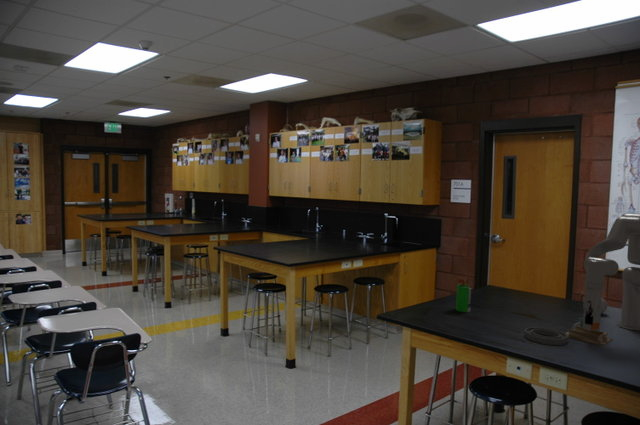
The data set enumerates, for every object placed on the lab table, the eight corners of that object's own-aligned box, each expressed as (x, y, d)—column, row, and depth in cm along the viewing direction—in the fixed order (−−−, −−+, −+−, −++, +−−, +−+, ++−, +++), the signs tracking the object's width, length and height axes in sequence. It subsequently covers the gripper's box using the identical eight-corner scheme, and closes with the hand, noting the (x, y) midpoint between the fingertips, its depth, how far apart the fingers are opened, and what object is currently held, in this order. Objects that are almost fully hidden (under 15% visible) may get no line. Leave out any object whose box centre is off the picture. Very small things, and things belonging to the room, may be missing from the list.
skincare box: (589, 331, 219) (591, 306, 218) (582, 328, 223) (584, 303, 222) (599, 330, 221) (601, 305, 220) (592, 327, 225) (594, 303, 224)
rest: (572, 330, 235) (573, 323, 235) (612, 339, 222) (612, 332, 222) (561, 335, 225) (562, 328, 225) (602, 345, 213) (603, 338, 212)
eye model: (601, 311, 274) (602, 294, 274) (610, 316, 264) (611, 299, 264) (583, 310, 275) (584, 294, 275) (591, 315, 265) (592, 298, 264)
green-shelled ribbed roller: (472, 312, 262) (474, 281, 261) (458, 312, 263) (459, 280, 262) (467, 308, 272) (469, 277, 271) (453, 307, 272) (455, 277, 271)
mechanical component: (530, 330, 234) (530, 324, 234) (571, 339, 222) (571, 333, 222) (519, 339, 220) (519, 332, 220) (562, 348, 208) (562, 342, 208)
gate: (579, 326, 240) (579, 317, 239) (583, 327, 238) (584, 318, 238) (570, 330, 232) (571, 321, 232) (575, 331, 230) (575, 322, 230)
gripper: (591, 282, 229) (589, 318, 230) (579, 286, 217) (576, 324, 219) (609, 285, 224) (606, 321, 225) (597, 289, 212) (594, 328, 213)
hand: (591, 322), depth 222 cm, fingers closed on skincare box, 7 cm apart
